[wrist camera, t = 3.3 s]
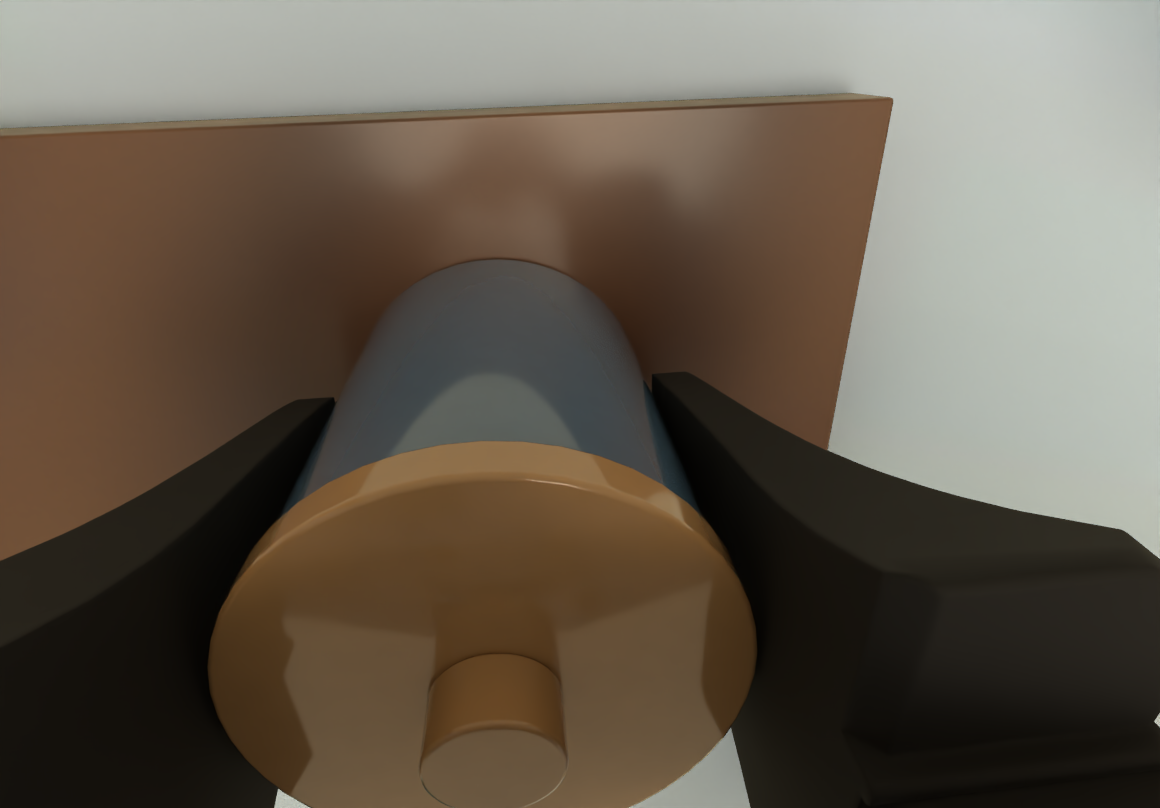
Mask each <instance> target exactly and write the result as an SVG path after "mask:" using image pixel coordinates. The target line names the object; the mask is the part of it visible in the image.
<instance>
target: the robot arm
mask: <svg viewBox="0 0 1160 808" xmlns="http://www.w3.org/2000/svg"><path fill="white" fill-rule="evenodd" d="M651 393H652V395H653V397H654V400H655V402H656V405H657V407H658V409H659V412H660V414H661V416H662V419H663V421H664V424H665V426H666V428H667V431H668V433H669V435H670V438H671V440H672V443H673V445H674V447H675V450H676V452H677V454H678V457H679V459H680V461H681V464H682V466H683V469H684V471H685V473H686V476H687V478H688V480H689V483H690V485H691V488H692V490H693V492H694V495H695V497H696V499H697V502H698V504H699V507H700V509H701V511H702V514H703V516H704V518H705V520H706V521H707V522H708V523H709V525H710V526H711V527H712V529H713V530H714V531H715V533H716V534H717V536H718V537H719V538H720V540H721V541H722V542H723V544H724V545H725V547H726V549H727V551H728V553H729V555H730V557H731V559H732V562H733V564H734V566H735V568H736V570H737V572H738V574H739V577H740V579H741V581H742V583H743V586H744V588H745V590H746V593H747V595H748V597H749V599H750V602H751V606H752V610H753V614H754V617H755V621H756V628H757V643H758V651H757V660H756V668H755V675H754V678H753V682H752V685H751V688H750V691H749V695H748V697H747V699H746V701H745V703H744V705H743V707H742V709H741V711H740V713H739V715H738V717H737V719H736V720H735V722H734V723H733V725H732V726H731V729H732V733H733V737H734V741H735V745H736V749H737V753H738V757H739V761H740V765H741V769H742V773H743V777H744V782H745V786H746V790H747V794H748V798H749V803H750V807H751V808H1160V727H1159V726H1158V725H1157V724H1156V723H1155V722H1154V721H1155V719H1156V717H1157V716H1158V714H1159V713H1160V559H1159V558H1158V557H1157V556H1155V555H1154V554H1153V553H1152V552H1150V551H1149V550H1148V549H1147V548H1145V547H1144V546H1143V545H1142V544H1140V543H1139V542H1138V541H1137V540H1135V539H1134V538H1133V537H1132V536H1130V535H1129V534H1128V533H1126V532H1125V531H1123V530H1120V529H1115V528H1109V527H1104V526H1098V525H1093V524H1087V523H1082V522H1076V521H1071V520H1065V519H1060V518H1054V517H1049V516H1043V515H1038V514H1032V513H1027V512H1022V511H1017V510H1013V509H1008V508H1004V507H1000V506H996V505H992V504H988V503H984V502H980V501H976V500H972V499H967V498H963V497H960V496H956V495H952V494H949V493H945V492H942V491H938V490H935V489H931V488H928V487H925V486H921V485H918V484H915V483H912V482H909V481H906V480H903V479H900V478H897V477H894V476H891V475H888V474H885V473H882V472H879V471H877V470H874V469H871V468H868V467H866V466H863V465H861V464H858V463H856V462H853V461H851V460H849V459H846V458H844V457H841V456H839V455H837V454H834V453H832V452H830V451H827V450H825V449H823V448H821V447H818V446H816V445H814V444H812V443H810V442H808V441H806V440H804V439H802V438H800V437H798V436H796V435H794V434H792V433H790V432H789V431H787V430H785V429H783V428H781V427H779V426H777V425H775V424H774V423H772V422H770V421H768V420H766V419H765V418H763V417H761V416H760V415H758V414H756V413H754V412H753V411H751V410H749V409H748V408H746V407H744V406H743V405H741V404H740V403H738V402H736V401H735V400H733V399H732V398H730V397H728V396H727V395H725V394H724V393H722V392H720V391H719V390H717V389H716V388H714V387H713V386H711V385H709V384H708V383H706V382H705V381H703V380H701V379H700V378H698V377H696V376H695V375H693V374H691V373H689V372H687V371H684V372H670V373H656V374H652V392H651ZM334 405H335V400H334V397H325V398H311V399H297V400H295V401H293V402H291V403H289V404H287V405H285V406H283V407H281V408H280V409H278V410H276V411H275V412H273V413H271V414H270V415H268V416H267V417H265V418H264V419H262V420H260V421H259V422H257V423H256V424H254V425H253V426H251V427H250V428H248V429H247V430H245V431H244V432H242V433H240V434H239V435H237V436H236V437H234V438H233V439H231V440H230V441H228V442H227V443H225V444H224V445H222V446H221V447H219V448H217V449H216V450H214V451H213V452H211V453H210V454H208V455H207V456H205V457H203V458H202V459H200V460H198V461H197V462H195V463H193V464H192V465H190V466H188V467H187V468H185V469H183V470H182V471H180V472H178V473H177V474H175V475H173V476H172V477H170V478H168V479H167V480H165V481H163V482H162V483H160V484H158V485H157V486H155V487H153V488H152V489H150V490H148V491H147V492H145V493H143V494H141V495H139V496H138V497H136V498H134V499H132V500H130V501H128V502H126V503H124V504H123V505H121V506H119V507H117V508H115V509H113V510H111V511H109V512H107V513H105V514H103V515H101V516H99V517H97V518H95V519H93V520H91V521H89V522H87V523H85V524H83V525H81V526H79V527H77V528H75V529H72V530H70V531H68V532H66V533H64V534H62V535H59V536H57V537H55V538H52V539H50V540H48V541H45V542H43V543H41V544H38V545H36V546H34V547H31V548H29V549H27V550H24V551H22V552H20V553H17V554H15V555H13V556H10V557H8V558H6V559H3V560H1V561H0V808H274V806H275V801H276V796H277V791H278V788H277V787H276V786H274V785H273V784H272V783H270V782H269V781H268V780H266V779H265V778H263V777H262V776H261V775H260V774H259V773H258V772H257V771H256V770H255V769H254V768H253V767H252V766H251V765H250V764H249V763H248V762H247V761H246V760H245V759H244V758H243V757H242V755H241V754H240V753H239V752H238V750H237V749H236V748H235V746H234V745H233V744H232V742H231V741H230V740H229V738H228V736H227V735H226V733H225V731H224V729H223V727H222V725H221V723H220V721H219V719H218V717H217V715H216V712H215V708H214V705H213V702H212V698H211V695H210V690H209V679H208V668H207V661H208V652H209V644H210V636H211V633H212V630H213V627H214V624H215V621H216V618H217V615H218V612H219V609H220V608H221V606H222V604H223V602H224V600H225V598H226V596H227V594H228V592H229V590H230V588H231V587H232V585H233V583H234V581H235V579H236V577H237V575H238V573H239V571H240V570H241V568H242V566H243V564H244V563H245V561H246V559H247V557H248V556H249V554H250V552H251V550H252V549H253V548H254V546H255V545H256V544H257V543H258V542H259V540H260V539H261V538H262V537H263V536H264V534H265V533H266V532H267V531H268V530H269V528H270V527H271V526H272V525H273V524H274V523H275V522H276V521H277V519H278V517H279V515H280V513H281V511H282V509H283V507H284V505H285V503H286V501H287V499H288V497H289V495H290V493H291V491H292V489H293V487H294V485H295V483H296V481H297V479H298V477H299V475H300V473H301V471H302V469H303V467H304V465H305V463H306V461H307V459H308V457H309V455H310V453H311V451H312V449H313V447H314V445H315V443H316V441H317V439H318V437H319V435H320V433H321V431H322V429H323V427H324V425H325V423H326V421H327V419H328V417H329V415H330V413H331V411H332V409H333V407H334Z"/></svg>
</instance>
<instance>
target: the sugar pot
mask: <svg viewBox="0 0 1160 808" xmlns="http://www.w3.org/2000/svg"><path fill="white" fill-rule="evenodd" d="M757 651H758V643H757V628H756V621H755V617H754V614H753V610H752V606H751V602H750V599H749V597H748V595H747V593H746V590H745V588H744V586H743V583H742V581H741V579H740V577H739V574H738V572H737V570H736V568H735V566H734V564H733V562H732V559H731V557H730V555H729V553H728V551H727V549H726V547H725V545H724V544H723V542H722V541H721V540H720V538H719V537H718V536H717V534H716V533H715V531H714V530H713V529H712V527H711V526H710V525H709V523H708V522H707V521H706V520H705V518H704V516H703V514H702V511H701V509H700V507H699V504H698V502H697V499H696V497H695V495H694V492H693V490H692V488H691V485H690V483H689V480H688V478H687V476H686V473H685V471H684V469H683V466H682V464H681V461H680V459H679V457H678V454H677V452H676V450H675V447H674V445H673V443H672V440H671V438H670V435H669V433H668V431H667V428H666V426H665V424H664V421H663V419H662V416H661V414H660V412H659V409H658V407H657V405H656V402H655V400H654V397H653V395H652V393H651V390H650V388H649V386H648V383H647V381H646V379H645V376H644V374H643V371H642V369H641V367H640V364H639V362H638V360H637V357H636V355H635V352H634V350H633V348H632V345H631V343H630V341H629V339H628V337H627V335H626V333H625V330H624V328H623V327H622V325H621V324H620V322H619V321H618V319H617V318H616V316H615V315H614V313H613V312H612V311H611V310H610V309H609V308H608V307H607V305H606V304H605V303H604V302H603V301H602V300H601V299H600V298H599V297H597V296H596V295H595V294H594V293H593V292H592V291H590V290H589V289H588V288H587V287H585V286H583V285H582V284H580V283H579V282H577V281H576V280H574V279H572V278H571V277H569V276H566V275H564V274H562V273H560V272H558V271H556V270H553V269H550V268H547V267H544V266H541V265H537V264H534V263H528V262H522V261H517V260H500V259H492V260H479V261H472V262H467V263H462V264H458V265H454V266H451V267H448V268H445V269H443V270H440V271H437V272H435V273H433V274H431V275H429V276H427V277H425V278H423V279H421V280H419V281H418V282H416V283H415V284H414V285H412V286H411V287H409V288H408V289H407V290H405V291H404V292H403V293H402V294H401V295H399V296H398V297H397V298H396V299H395V300H394V301H393V302H392V303H391V304H390V305H389V306H388V308H387V309H386V310H385V311H384V313H383V314H382V315H381V317H380V318H379V319H378V321H377V323H376V324H375V326H374V328H373V330H372V332H371V333H370V335H369V337H368V339H367V341H366V343H365V345H364V347H363V349H362V351H361V353H360V355H359V357H358V359H357V361H356V363H355V365H354V367H353V369H352V371H351V373H350V375H349V377H348V379H347V381H346V383H345V385H344V387H343V389H342V391H341V393H340V395H339V397H338V399H337V401H336V403H335V405H334V407H333V409H332V411H331V413H330V415H329V417H328V419H327V421H326V423H325V425H324V427H323V429H322V431H321V433H320V435H319V437H318V439H317V441H316V443H315V445H314V447H313V449H312V451H311V453H310V455H309V457H308V459H307V461H306V463H305V465H304V467H303V469H302V471H301V473H300V475H299V477H298V479H297V481H296V483H295V485H294V487H293V489H292V491H291V493H290V495H289V497H288V499H287V501H286V503H285V505H284V507H283V509H282V511H281V513H280V515H279V517H278V519H277V521H276V522H275V523H274V524H273V525H272V526H271V527H270V528H269V530H268V531H267V532H266V533H265V534H264V536H263V537H262V538H261V539H260V540H259V542H258V543H257V544H256V545H255V546H254V548H253V549H252V550H251V552H250V554H249V556H248V557H247V559H246V561H245V563H244V564H243V566H242V568H241V570H240V571H239V573H238V575H237V577H236V579H235V581H234V583H233V585H232V587H231V588H230V590H229V592H228V594H227V596H226V598H225V600H224V602H223V604H222V606H221V608H220V609H219V612H218V615H217V618H216V621H215V624H214V627H213V630H212V633H211V636H210V644H209V652H208V661H207V668H208V679H209V690H210V695H211V698H212V702H213V705H214V708H215V712H216V715H217V717H218V719H219V721H220V723H221V725H222V727H223V729H224V731H225V733H226V735H227V736H228V738H229V740H230V741H231V742H232V744H233V745H234V746H235V748H236V749H237V750H238V752H239V753H240V754H241V755H242V757H243V758H244V759H245V760H246V761H247V762H248V763H249V764H250V765H251V766H252V767H253V768H254V769H255V770H256V771H257V772H258V773H259V774H260V775H261V776H262V777H263V778H265V779H266V780H268V781H269V782H270V783H272V784H273V785H274V786H276V787H277V788H278V789H280V790H281V791H282V792H284V793H285V794H287V795H289V796H290V797H292V798H294V799H296V800H297V801H299V802H301V803H303V804H304V805H306V806H308V807H310V808H629V807H631V806H633V805H636V804H638V803H640V802H642V801H644V800H646V799H647V798H649V797H651V796H653V795H654V794H656V793H658V792H660V791H661V790H663V789H665V788H667V787H668V786H669V785H671V784H672V783H674V782H675V781H677V780H678V779H679V778H681V777H682V776H684V775H685V774H686V773H688V772H689V771H690V770H691V769H692V768H694V767H695V766H696V765H697V764H698V763H699V762H700V761H702V760H703V759H704V758H705V757H706V756H707V755H708V754H709V753H710V752H711V751H712V750H713V749H714V748H715V746H716V745H717V744H718V743H719V742H720V741H721V740H722V739H723V738H724V736H725V735H726V733H727V732H728V730H729V729H730V728H731V726H732V725H733V723H734V722H735V720H736V719H737V717H738V715H739V713H740V711H741V709H742V707H743V705H744V703H745V701H746V699H747V697H748V695H749V691H750V688H751V685H752V682H753V678H754V675H755V668H756V660H757Z"/></svg>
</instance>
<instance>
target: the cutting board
mask: <svg viewBox="0 0 1160 808" xmlns="http://www.w3.org/2000/svg"><path fill="white" fill-rule="evenodd" d="M892 105H893V99H892V98H890V97H882V96H873V95H864V94H855V93H842V94H818V95H794V96H770V97H746V98H722V99H698V100H674V101H650V102H626V103H602V104H578V105H554V106H530V107H506V108H482V109H458V110H434V111H410V112H386V113H362V114H338V115H314V116H290V117H266V118H242V119H218V120H194V121H170V122H146V123H122V124H98V125H74V126H50V127H26V128H2V129H0V561H1V560H3V559H6V558H8V557H10V556H13V555H15V554H17V553H20V552H22V551H24V550H27V549H29V548H31V547H34V546H36V545H38V544H41V543H43V542H45V541H48V540H50V539H52V538H55V537H57V536H59V535H62V534H64V533H66V532H68V531H70V530H72V529H75V528H77V527H79V526H81V525H83V524H85V523H87V522H89V521H91V520H93V519H95V518H97V517H99V516H101V515H103V514H105V513H107V512H109V511H111V510H113V509H115V508H117V507H119V506H121V505H123V504H124V503H126V502H128V501H130V500H132V499H134V498H136V497H138V496H139V495H141V494H143V493H145V492H147V491H148V490H150V489H152V488H153V487H155V486H157V485H158V484H160V483H162V482H163V481H165V480H167V479H168V478H170V477H172V476H173V475H175V474H177V473H178V472H180V471H182V470H183V469H185V468H187V467H188V466H190V465H192V464H193V463H195V462H197V461H198V460H200V459H202V458H203V457H205V456H207V455H208V454H210V453H211V452H213V451H214V450H216V449H217V448H219V447H221V446H222V445H224V444H225V443H227V442H228V441H230V440H231V439H233V438H234V437H236V436H237V435H239V434H240V433H242V432H244V431H245V430H247V429H248V428H250V427H251V426H253V425H254V424H256V423H257V422H259V421H260V420H262V419H264V418H265V417H267V416H268V415H270V414H271V413H273V412H275V411H276V410H278V409H280V408H281V407H283V406H285V405H287V404H289V403H291V402H293V401H295V400H297V399H311V398H325V397H334V400H335V403H336V401H337V399H338V397H339V395H340V393H341V391H342V389H343V387H344V385H345V383H346V381H347V379H348V377H349V375H350V373H351V371H352V369H353V367H354V365H355V363H356V361H357V359H358V357H359V355H360V353H361V351H362V349H363V347H364V345H365V343H366V341H367V339H368V337H369V335H370V333H371V332H372V330H373V328H374V326H375V324H376V323H377V321H378V319H379V318H380V317H381V315H382V314H383V313H384V311H385V310H386V309H387V308H388V306H389V305H390V304H391V303H392V302H393V301H394V300H395V299H396V298H397V297H398V296H399V295H401V294H402V293H403V292H404V291H405V290H407V289H408V288H409V287H411V286H412V285H414V284H415V283H416V282H418V281H419V280H421V279H423V278H425V277H427V276H429V275H431V274H433V273H435V272H437V271H440V270H443V269H445V268H448V267H451V266H454V265H458V264H462V263H467V262H472V261H479V260H492V259H500V260H517V261H522V262H528V263H534V264H537V265H541V266H544V267H547V268H550V269H553V270H556V271H558V272H560V273H562V274H564V275H566V276H569V277H571V278H572V279H574V280H576V281H577V282H579V283H580V284H582V285H583V286H585V287H587V288H588V289H589V290H590V291H592V292H593V293H594V294H595V295H596V296H597V297H599V298H600V299H601V300H602V301H603V302H604V303H605V304H606V305H607V307H608V308H609V309H610V310H611V311H612V312H613V313H614V315H615V316H616V318H617V319H618V321H619V322H620V324H621V325H622V327H623V328H624V330H625V333H626V335H627V337H628V339H629V341H630V343H631V345H632V348H633V350H634V352H635V355H636V357H637V360H638V362H639V364H640V367H641V369H642V371H643V374H644V376H645V379H646V381H647V383H648V386H649V388H650V390H651V392H652V374H656V373H670V372H684V371H687V372H689V373H691V374H693V375H695V376H696V377H698V378H700V379H701V380H703V381H705V382H706V383H708V384H709V385H711V386H713V387H714V388H716V389H717V390H719V391H720V392H722V393H724V394H725V395H727V396H728V397H730V398H732V399H733V400H735V401H736V402H738V403H740V404H741V405H743V406H744V407H746V408H748V409H749V410H751V411H753V412H754V413H756V414H758V415H760V416H761V417H763V418H765V419H766V420H768V421H770V422H772V423H774V424H775V425H777V426H779V427H781V428H783V429H785V430H787V431H789V432H790V433H792V434H794V435H796V436H798V437H800V438H802V439H804V440H806V441H808V442H810V443H812V444H814V445H816V446H818V447H821V448H823V449H825V450H827V449H828V444H829V438H830V433H831V428H832V422H833V417H834V412H835V407H836V401H837V396H838V391H839V385H840V380H841V375H842V370H843V364H844V359H845V354H846V348H847V343H848V338H849V333H850V327H851V322H852V317H853V311H854V306H855V301H856V296H857V290H858V285H859V280H860V274H861V269H862V264H863V259H864V253H865V248H866V243H867V237H868V232H869V227H870V222H871V216H872V211H873V206H874V200H875V195H876V190H877V185H878V179H879V174H880V169H881V163H882V158H883V153H884V148H885V142H886V137H887V132H888V126H889V121H890V116H891V111H892Z"/></svg>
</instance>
